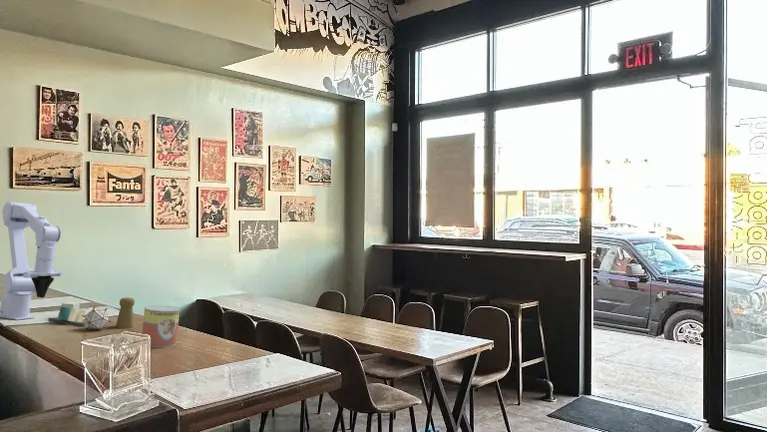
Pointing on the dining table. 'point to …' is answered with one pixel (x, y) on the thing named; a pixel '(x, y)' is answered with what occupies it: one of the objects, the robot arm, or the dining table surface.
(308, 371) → the dining table surface
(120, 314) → the cork
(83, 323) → the rubber trip strip
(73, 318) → the birch block
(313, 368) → the dining table surface
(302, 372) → the dining table surface
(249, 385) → the dining table surface
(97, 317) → the game die
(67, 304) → the sage block
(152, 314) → the canned food
